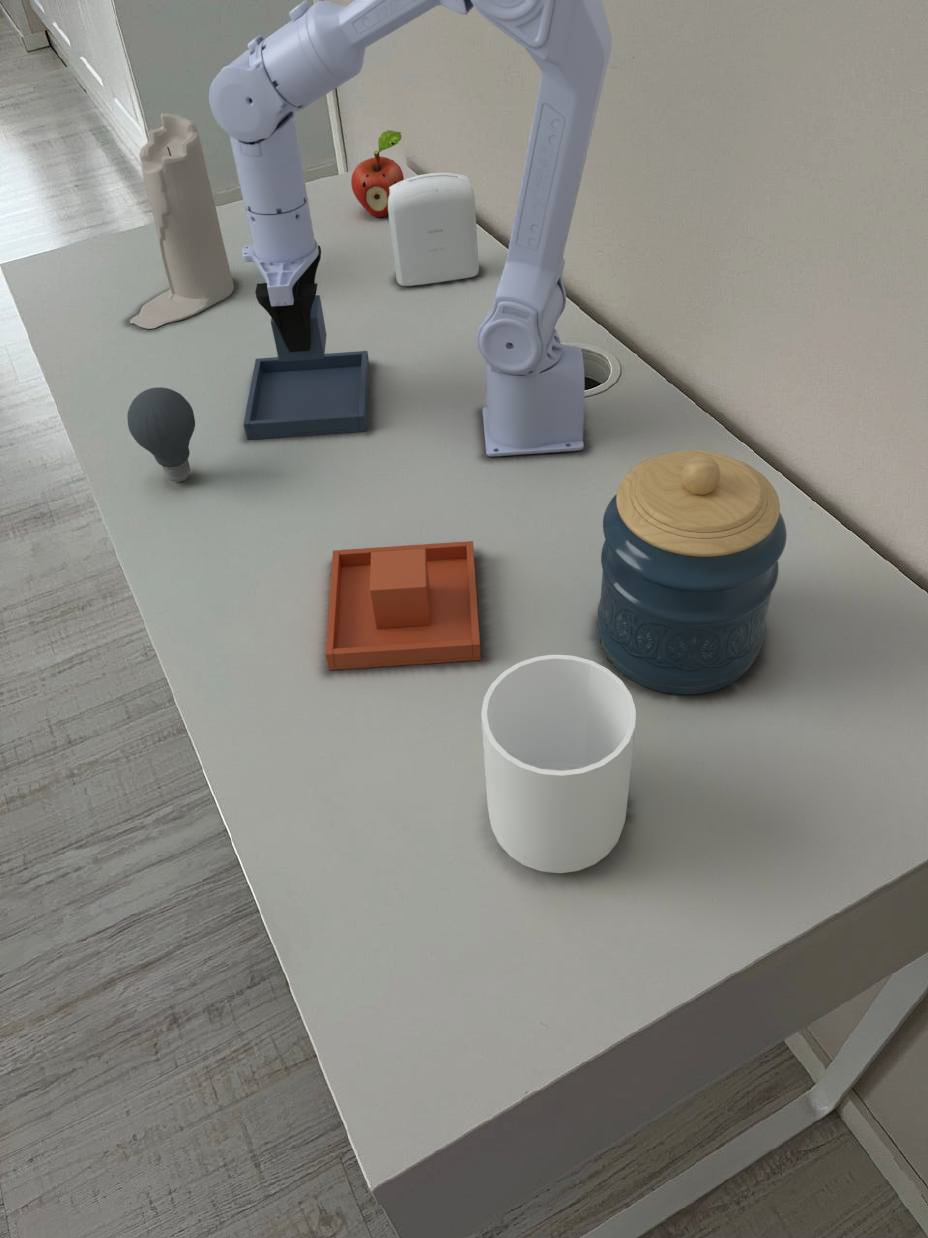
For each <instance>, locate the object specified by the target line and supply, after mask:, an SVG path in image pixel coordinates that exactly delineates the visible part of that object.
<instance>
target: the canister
mask: <svg viewBox="0 0 928 1238" xmlns="http://www.w3.org/2000/svg"><path fill="white" fill-rule="evenodd" d="M602 517H603V518H602V531H603V535H604V538H605V540H604V542H603V545H602V548H601V553H600V562H601V568H602V573H601V575H602V576H601V592H600V599H599V603H598V607H597V630H598V635H599V637H600V642H601V646H602V649H603V651H604V653H605V654H606V657H607V658H608V660H609V661H610V662H611V664H612V665H613V666H614V667H615V668H616V669H617V670H618V671H619V672H620V673H621V674H622V675H624V676H625V677H627V678H628V679H630V680H632V681H634V682H635V683H637V684H639V685H641V686H643V687H645V688H649V689H651V690H654V691H658V692H663V693H667V694H674V695H696V694H697V695H698V694H705V693H711V692H713V691H717V690H720V689H723V688H725V687H727V686H729V685H731V684H733V683H734V682H736V681H738V680H739V679H740V678H742V677H743V676H744V675H745V674H746V673H747V671H748V670H749V669H750V668H751V667H752V665H753V663H754V662H755V659H756V658H757V656H758V655H759V653H760V650H761V649H762V646H763V643H764V638H765V634H766V629H767V624H766V623H767V622H766V619H767V616H768V615H767V614H768V611H769V606H770V601H771V597H772V593H773V591H774V589H775V587H776V584H777V582H778V577H779V572H780V571H779V560H780V558H781V556H782V555H783V553H784V550H785V547H786V545H787V544H786V543H787V537H788V534H787V533H788V532H787V527H786V523H785V520H784V517H783V514H782V513H781V503H780V499H779V495H778V493H777V491H776V489H775V487H774V486H773V484H772V483H771V481H769V479H768V478H767V477H766V476H764V475H763V474H762V472H760V471H759V470H757V469H756V468H754V467H753V466H751V465H749V464H747V463H745V462H744V461H741V460H739V459H736V458H733V457H731V456H727V455H725V454H722V453H718V452H713V451H708V450H695V449H694V450H682V451H673V452H668V453H667V452H666V453H663V454H658V455H656V456H653V457H650V458H648V459H646V460H644V461H642V462H640V463H638V464H636V465H635V466H634V467H632V468H631V469H630V470H629V471H628V472H627V473H626V474H625V475H624V477H623V478H622V479H621V481H620V483H619V485H618V487H617V490H616V494H615V495H613V497H612V498H611V499H610V501H609V502H608V504H607V506H606V508H605V510H604V514H603V516H602Z"/></svg>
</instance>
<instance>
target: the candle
mask: <svg viewBox="0 0 928 1238" xmlns="http://www.w3.org/2000/svg"><path fill="white" fill-rule="evenodd" d="M159 116H160V120H161V121H160V122H161V125H162V126H161V127H158V128H157V127H156V128H154V129H153V128H152V129H150V130H149V132H148V142H146V143H145V144H144V145H143V146H142V147H141V148H140V152H139V155H138V157H139V160H140V163H141V164H140V165H141V174H142V179H143V180H142V181H143V186H144V189H145V192H146V196H147V199H148V204H149V207H150V211H151V213H152V216H153V220H154V221H153V222H154V225H155V229H156V234H157V239H158V244H159V250H160V256H161V261H162V265H163V269H164V272H165V276H166V279H167V283H168V287H169V289H168V290H166V291H164V292H162V293H161V294H159V295H157V296H155V297H154V298H153V299H151V300H149V301H148V302H145V303H144V304H143V306H141V308H140V312H139V313H138V314H136V315H135V316H133V317H132V318H130V319H129V323H130V324H134V325H136V326H138V327H140V328H143V329H149V330H151V329H155V328H158V327H161V326H163V325H165V324H167V323H174V322H178V321H182V320H185V319H187V318H190V317H192V316H193V317H194V316H195V315H197V314H199V313H200V312H203V311H205V310H206V309H208V308H211V306H213V305H215V304H217V303H219V302H221V301H224V300H225V299H227V298H228V297H229V296H230V295H232V293H233V291H234V289H235V285H234V280H233V276H232V272H231V268H230V263H229V259H228V255H227V251H226V247H225V243H224V239H223V234H222V230H221V226H220V221H219V216H218V212H217V207H216V203H215V199H214V195H213V191H212V185H211V183H210V178H209V177H210V176H209V173H208V169H207V165H206V161H205V157H204V152H203V146H202V143H201V139H200V135H199V132H198V128H197V127H198V126H197V125H196V123H195V122H194V121H193V120H191V119H189V118H187V117H185V116H183V115H180V114H176V113H169V112H163V113H161V114H160V115H159Z"/></svg>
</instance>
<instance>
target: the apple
mask: <svg viewBox="0 0 928 1238" xmlns="http://www.w3.org/2000/svg"><path fill="white" fill-rule="evenodd" d="M401 140H402V132H401V131H394V130H389V129H388V130H386V131H385V130H384V131H383V132H382V133H381V134H380V136H379V137H378V150H375V151H374V152H373V155H374V157H371V158H370V157H369V158H367V159H365V160H363V161H361V162H359V163H358V164H357V165H356V167H355V168H354V170H353V171H352V175H351V178H350V179H351V180H350V185H351V190H352V192H353V194H354V197H355V198H356V200H357V201H358V203H359V204H360V205H361V206H362V207H363V208H364V209H365V210H366V212H368V214H369V215H371V216H372V217H374V218H380V217H385V216H389V214H388V198H389V195H390V193H389V187H391V186H392V185H394V184H396V183H398V182H400V181H402V180H405V179H404V178H405V177H404V172H403V170H402V167H401V166H400V164H399V163H397V162H396V161H395V160H393V159H391V158H388V157H386V156H381V155H380V153H381V152H382V151H385V150H387V149H390V148H393V147H394V146H396V145H398V144H399V143H400V141H401Z"/></svg>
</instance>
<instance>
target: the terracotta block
mask: <svg viewBox="0 0 928 1238" xmlns="http://www.w3.org/2000/svg"><path fill="white" fill-rule="evenodd" d="M370 595H371V600H372V606H373V612H374V618H375V624H376V628H377V629H381V628H396V627H411V626H426V625H431V613H430V584H429V575H428V566H427V557H426V549H414V550H399V551H384V552H372V553H371V569H370Z"/></svg>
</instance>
